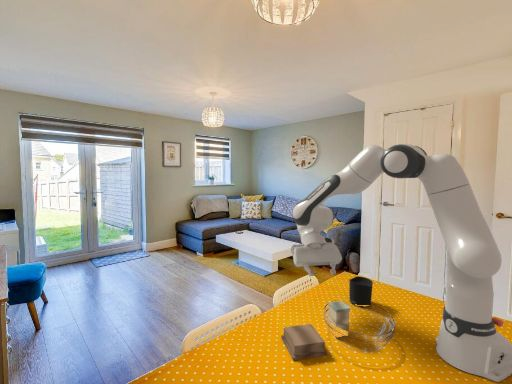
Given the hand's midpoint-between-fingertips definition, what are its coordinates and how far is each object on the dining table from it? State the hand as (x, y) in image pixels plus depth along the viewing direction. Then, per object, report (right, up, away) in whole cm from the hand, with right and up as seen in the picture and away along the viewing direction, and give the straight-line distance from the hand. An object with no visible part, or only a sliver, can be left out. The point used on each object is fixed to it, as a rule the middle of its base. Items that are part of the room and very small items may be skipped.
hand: (322, 274), depth 104 cm
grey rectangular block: (+3, -17, -11) cm, 21 cm away
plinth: (-11, -18, -18) cm, 28 cm away
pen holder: (+19, -16, +11) cm, 27 cm away
